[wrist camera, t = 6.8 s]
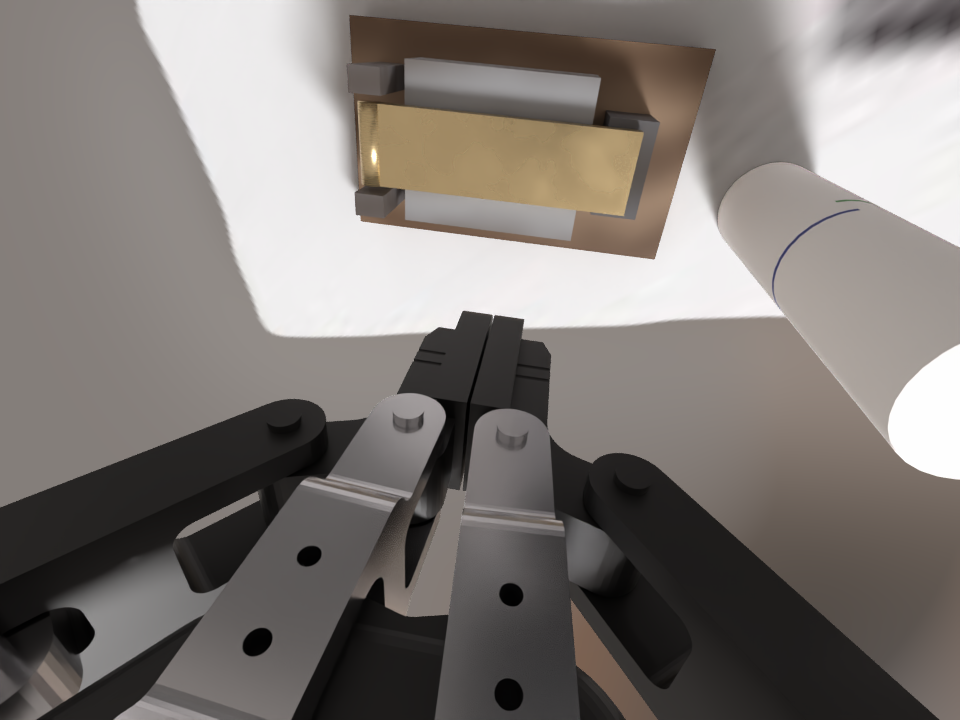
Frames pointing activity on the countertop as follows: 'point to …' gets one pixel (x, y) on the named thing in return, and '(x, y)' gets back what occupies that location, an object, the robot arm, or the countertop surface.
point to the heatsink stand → (539, 95)
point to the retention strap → (497, 157)
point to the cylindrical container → (860, 301)
